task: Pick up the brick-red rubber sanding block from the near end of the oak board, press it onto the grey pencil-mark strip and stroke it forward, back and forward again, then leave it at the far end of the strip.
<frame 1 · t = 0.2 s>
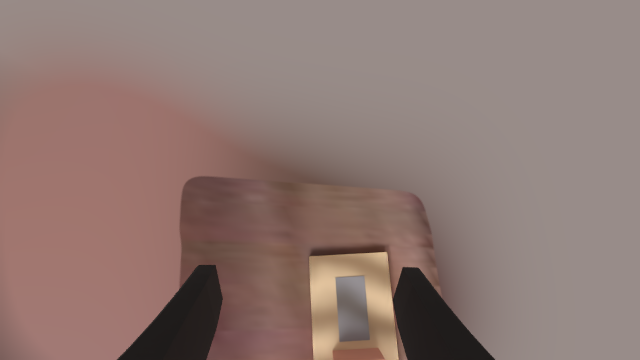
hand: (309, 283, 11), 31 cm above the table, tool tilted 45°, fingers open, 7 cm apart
board: (352, 321, 39), on the table
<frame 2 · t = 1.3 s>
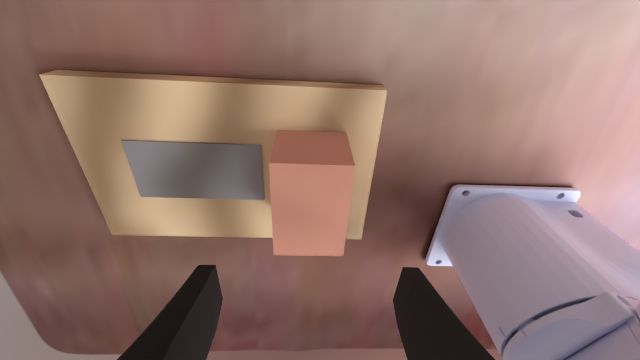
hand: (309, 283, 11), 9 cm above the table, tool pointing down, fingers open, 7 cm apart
sanding block: (310, 174, 18), point 1 cm above the table, touching board
board: (235, 163, 19), on the table
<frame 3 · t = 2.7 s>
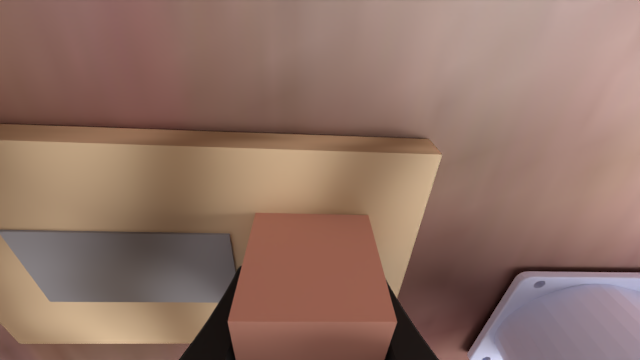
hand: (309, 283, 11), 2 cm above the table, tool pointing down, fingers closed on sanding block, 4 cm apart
sanding block: (309, 270, 12), point 1 cm above the table, touching board, gripper
board: (195, 247, 12), on the table
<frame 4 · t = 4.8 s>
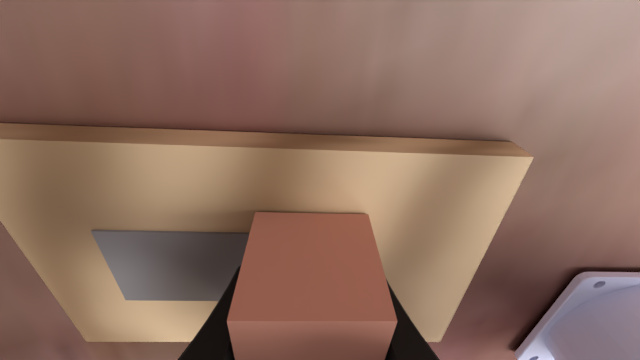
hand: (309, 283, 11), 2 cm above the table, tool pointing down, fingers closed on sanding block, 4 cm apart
sanding block: (309, 270, 12), point 1 cm above the table, touching board, gripper
board: (266, 247, 13), on the table
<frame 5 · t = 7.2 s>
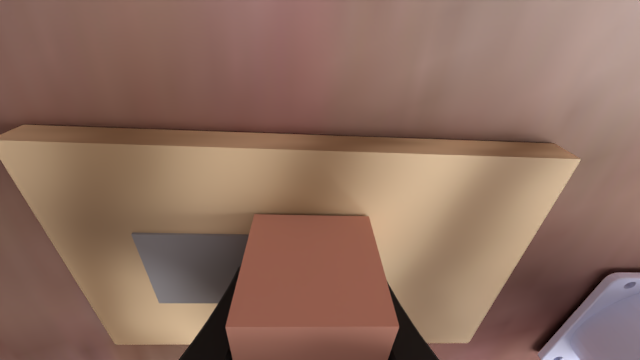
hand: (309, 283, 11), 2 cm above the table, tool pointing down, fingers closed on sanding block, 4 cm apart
sanding block: (309, 272, 11), point 1 cm above the table, touching gripper
board: (300, 249, 13), on the table
when the fingers open (2 cm above the table, at t = 9.4 s): sanding block stays where it is, resting on board.
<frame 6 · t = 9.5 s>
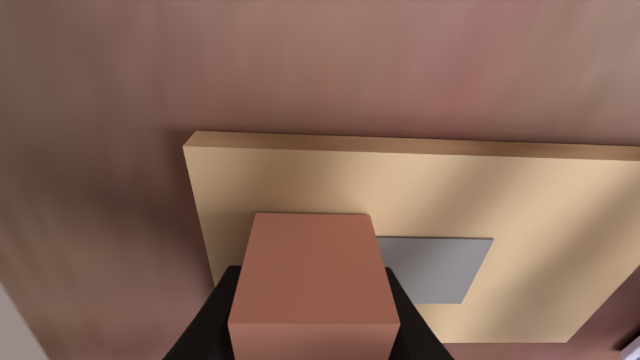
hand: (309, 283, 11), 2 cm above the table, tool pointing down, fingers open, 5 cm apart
sanding block: (310, 271, 12), point 1 cm above the table, touching board
board: (419, 251, 13), on the table
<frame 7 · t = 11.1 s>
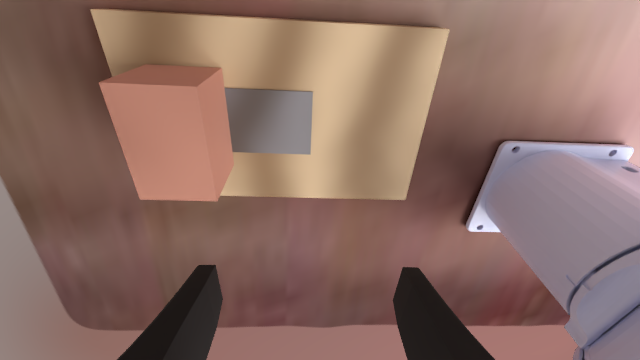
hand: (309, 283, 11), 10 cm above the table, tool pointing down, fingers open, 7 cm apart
sanding block: (194, 119, 17), point 1 cm above the table, touching board
board: (280, 116, 18), on the table
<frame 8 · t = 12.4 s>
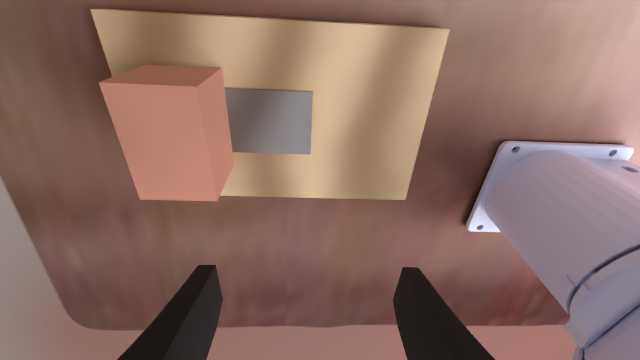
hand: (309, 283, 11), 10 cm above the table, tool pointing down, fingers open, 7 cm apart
sanding block: (194, 119, 17), point 1 cm above the table, touching board
board: (280, 116, 18), on the table
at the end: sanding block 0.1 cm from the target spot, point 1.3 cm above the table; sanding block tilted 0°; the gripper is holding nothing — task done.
